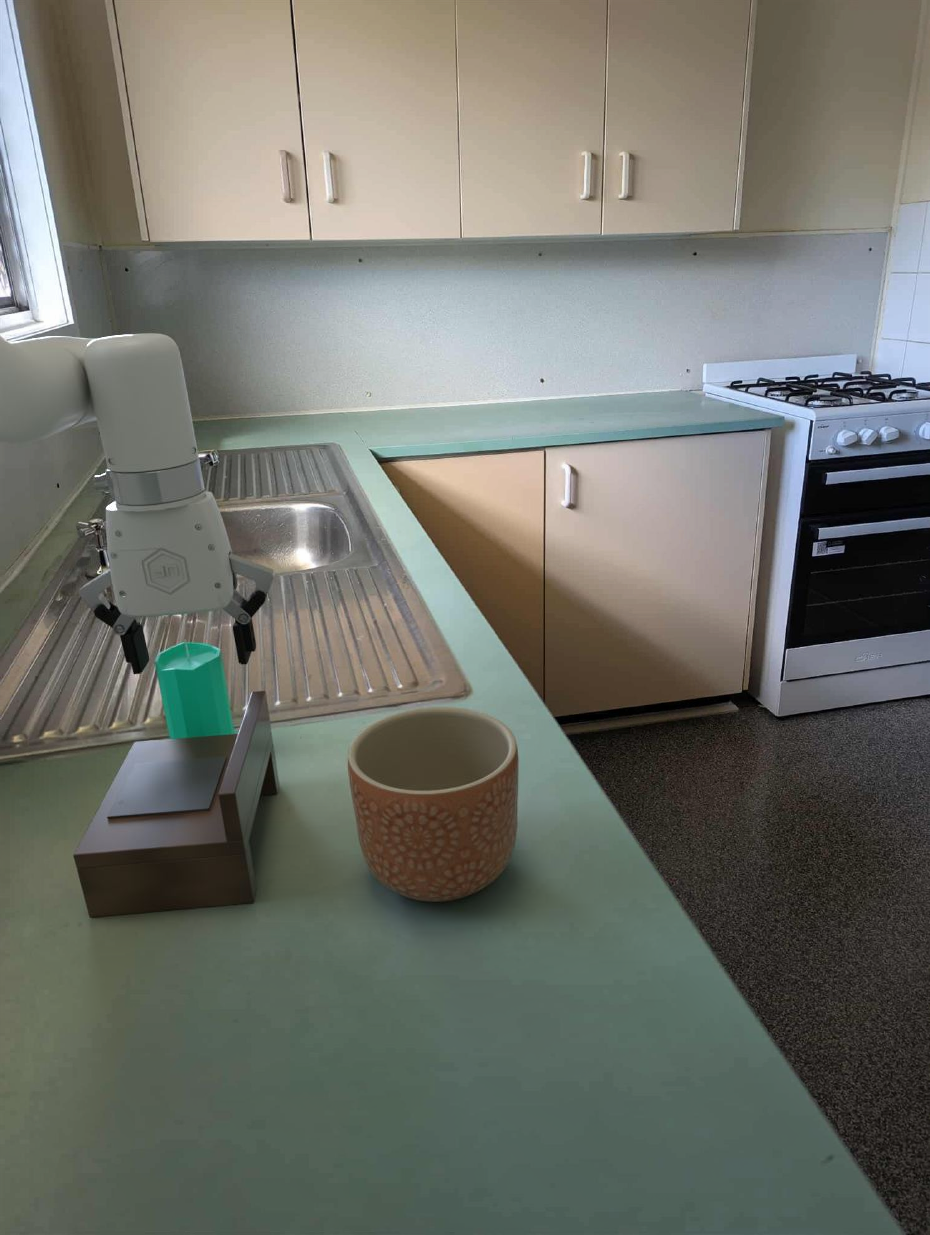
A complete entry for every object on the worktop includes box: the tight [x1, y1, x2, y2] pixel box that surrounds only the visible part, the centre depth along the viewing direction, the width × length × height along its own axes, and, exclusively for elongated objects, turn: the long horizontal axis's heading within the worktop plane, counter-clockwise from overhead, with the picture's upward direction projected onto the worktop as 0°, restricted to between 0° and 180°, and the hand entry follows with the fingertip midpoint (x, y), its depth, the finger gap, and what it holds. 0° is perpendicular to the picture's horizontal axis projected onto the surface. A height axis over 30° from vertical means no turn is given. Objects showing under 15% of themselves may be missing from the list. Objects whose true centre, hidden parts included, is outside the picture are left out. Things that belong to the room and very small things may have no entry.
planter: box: [347, 706, 520, 903], centre depth 65 cm, size 12×12×11 cm
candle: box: [154, 639, 236, 739], centre depth 83 cm, size 6×6×12 cm
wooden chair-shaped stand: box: [72, 690, 280, 918], centre depth 70 cm, size 12×16×10 cm
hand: (194, 663), depth 82 cm, fingers open, 9 cm apart
